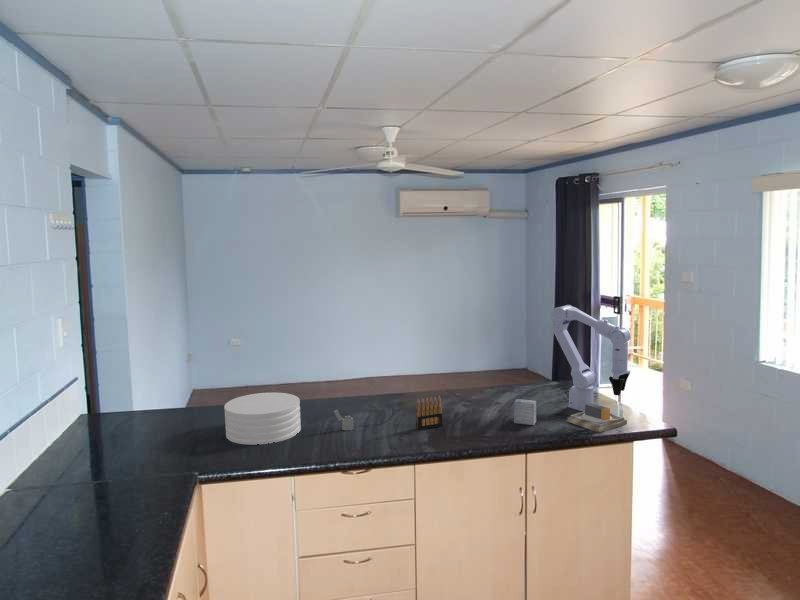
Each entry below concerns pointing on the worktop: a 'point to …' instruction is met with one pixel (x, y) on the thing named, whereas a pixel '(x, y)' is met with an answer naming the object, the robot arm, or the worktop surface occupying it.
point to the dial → (597, 413)
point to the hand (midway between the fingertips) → (619, 392)
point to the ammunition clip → (428, 414)
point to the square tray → (597, 427)
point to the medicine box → (525, 411)
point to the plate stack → (262, 418)
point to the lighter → (345, 421)
